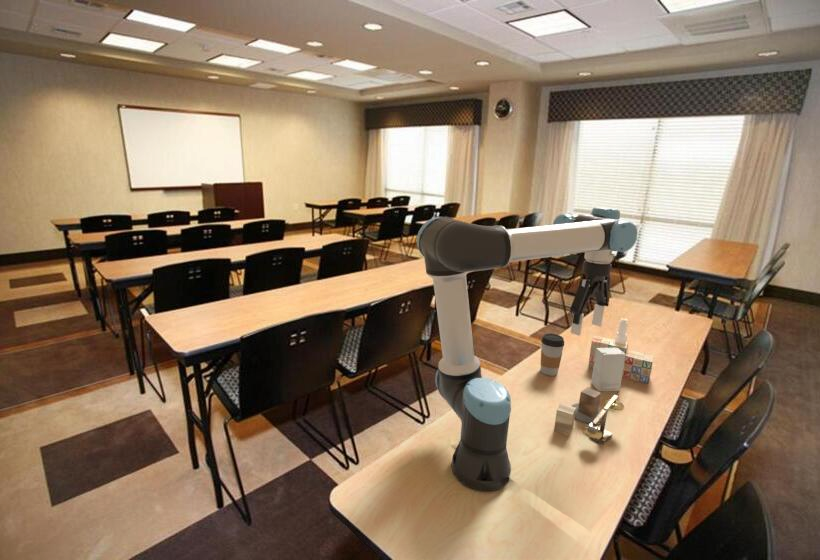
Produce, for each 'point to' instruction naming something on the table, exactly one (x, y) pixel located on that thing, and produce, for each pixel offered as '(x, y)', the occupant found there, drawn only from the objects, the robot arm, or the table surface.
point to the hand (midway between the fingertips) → (586, 329)
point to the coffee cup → (551, 354)
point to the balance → (602, 422)
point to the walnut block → (589, 402)
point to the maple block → (564, 419)
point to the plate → (584, 416)
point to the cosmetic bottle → (622, 332)
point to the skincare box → (608, 369)
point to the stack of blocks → (635, 362)
